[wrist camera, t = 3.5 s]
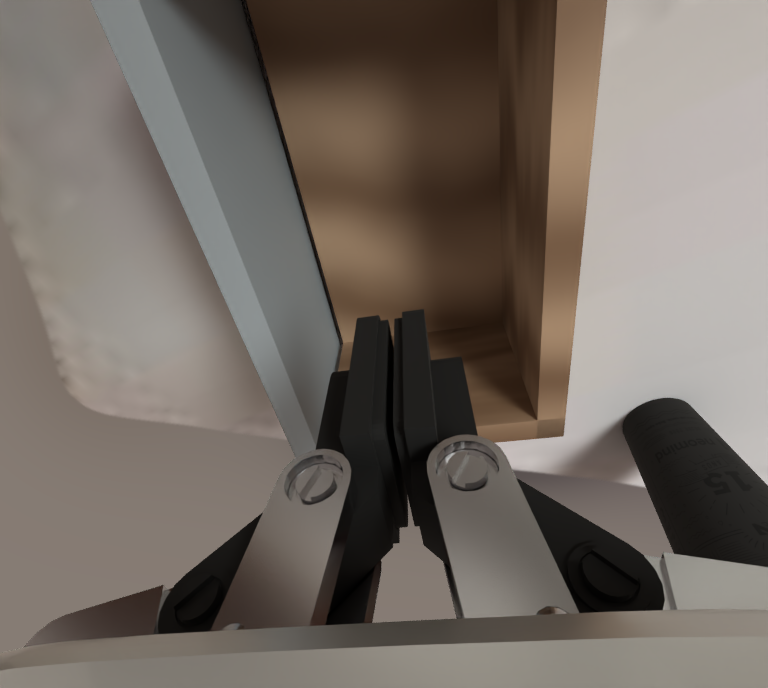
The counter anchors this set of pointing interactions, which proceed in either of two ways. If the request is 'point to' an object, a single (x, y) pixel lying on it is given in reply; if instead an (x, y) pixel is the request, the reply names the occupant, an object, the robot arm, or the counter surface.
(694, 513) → the drinking cup
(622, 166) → the counter surface
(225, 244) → the panel
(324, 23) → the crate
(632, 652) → the robot arm
